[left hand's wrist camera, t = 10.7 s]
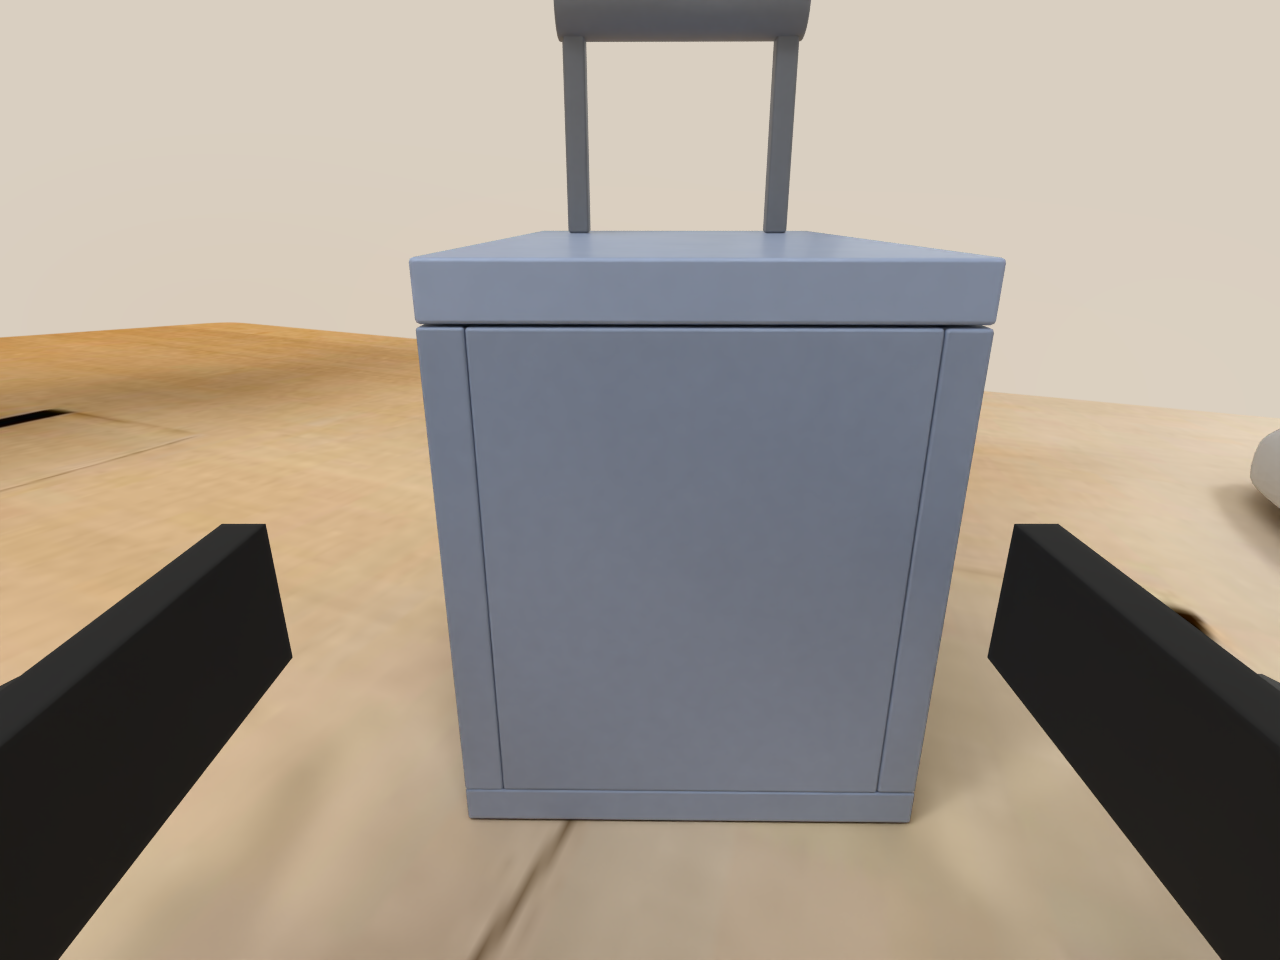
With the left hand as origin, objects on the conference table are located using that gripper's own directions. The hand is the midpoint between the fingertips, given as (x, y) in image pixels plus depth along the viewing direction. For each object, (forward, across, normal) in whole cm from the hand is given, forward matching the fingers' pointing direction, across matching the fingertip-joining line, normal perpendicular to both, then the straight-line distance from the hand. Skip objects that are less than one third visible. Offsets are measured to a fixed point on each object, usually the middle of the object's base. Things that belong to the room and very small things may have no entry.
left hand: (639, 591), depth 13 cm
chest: (+9, +1, -7) cm, 11 cm away
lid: (+9, +1, +5) cm, 10 cm away
